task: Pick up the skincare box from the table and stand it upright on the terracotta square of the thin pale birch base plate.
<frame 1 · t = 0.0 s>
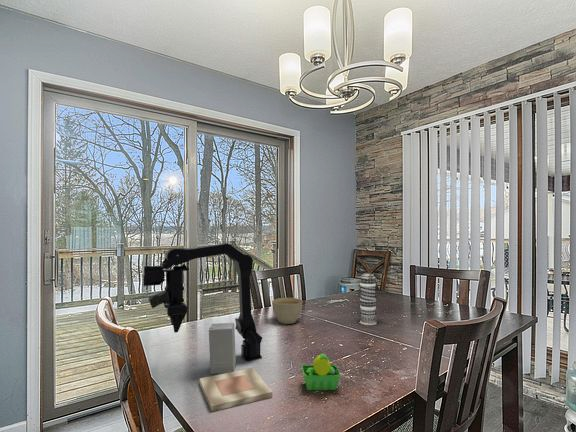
hand: (174, 328, 116), 15 cm above the table, tool pointing down, fingers open, 9 cm apart
birch base: (234, 389, 102), on the table
planter bowl: (287, 322, 174), on the table
decorative candle: (368, 323, 171), on the table
fruit basket: (320, 387, 104), on the table
skincare box: (222, 371, 116), on the table
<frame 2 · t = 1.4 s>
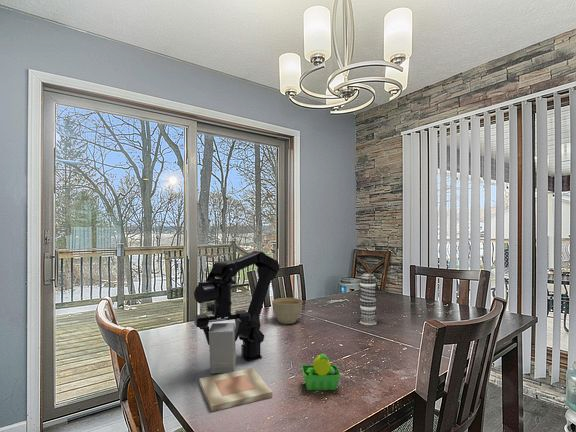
hand: (222, 342, 116), 10 cm above the table, tool pointing down, fingers open, 9 cm apart
skincare box: (222, 369, 116), on the table, touching gripper
everything else where it was.
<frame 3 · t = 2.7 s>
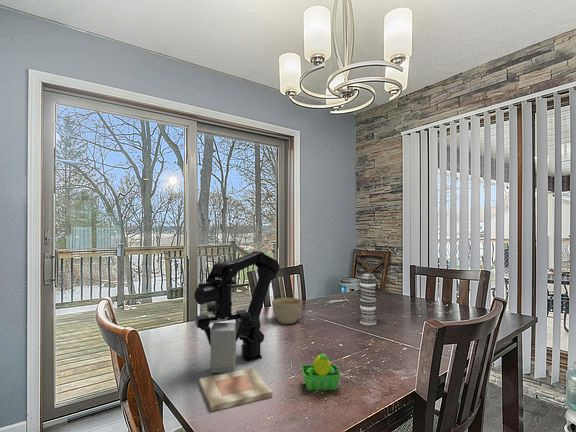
hand: (223, 342, 116), 9 cm above the table, tool pointing down, fingers closed on skincare box, 9 cm apart
skincare box: (222, 369, 116), on the table, touching gripper
everything else where it was.
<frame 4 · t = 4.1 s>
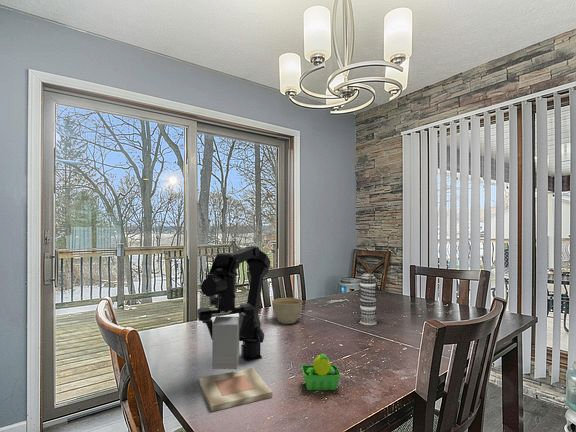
hand: (226, 337, 111), 13 cm above the table, tool pointing down, fingers closed on skincare box, 9 cm apart
skincare box: (225, 365, 110), point 4 cm above the table, touching gripper
everything else where it was.
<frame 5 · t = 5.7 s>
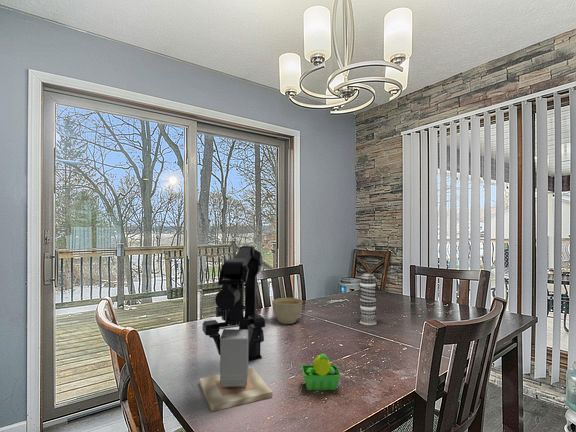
hand: (234, 352, 103), 12 cm above the table, tool pointing down, fingers closed on skincare box, 9 cm apart
skincare box: (233, 382, 102), point 2 cm above the table, touching gripper
everything else where it was.
when the fingers open (12 cm above the table, at t = 7.1 s): skincare box stays where it is, resting on birch base.
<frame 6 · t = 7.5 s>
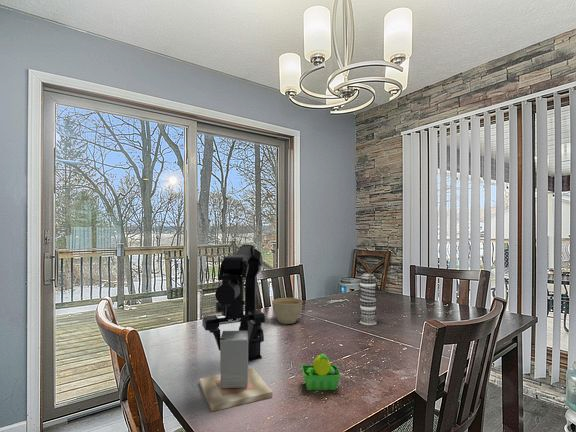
hand: (234, 347, 102), 13 cm above the table, tool pointing down, fingers open, 9 cm apart
skincare box: (233, 383, 102), point 2 cm above the table, touching birch base, gripper
everything else where it was.
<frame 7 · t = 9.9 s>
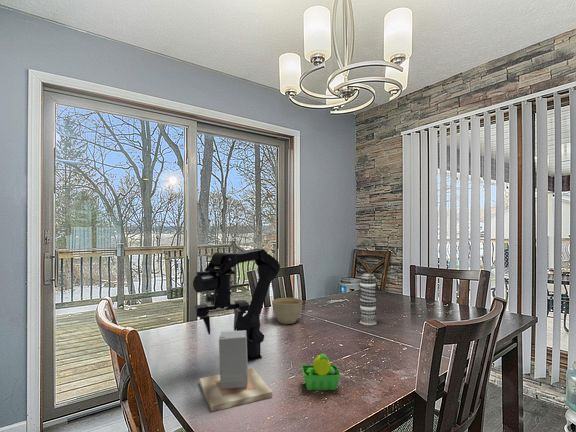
hand: (222, 332, 117), 13 cm above the table, tool pointing down, fingers open, 9 cm apart
skincare box: (233, 385, 102), point 1 cm above the table, touching birch base
everything else where it was.
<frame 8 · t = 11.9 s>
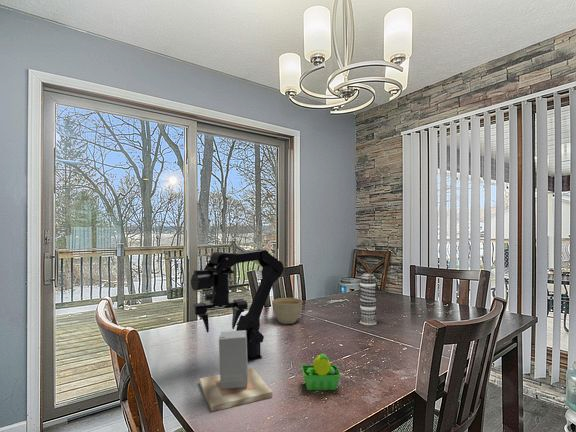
hand: (220, 330, 119), 13 cm above the table, tool pointing down, fingers open, 9 cm apart
nothing on the table moved.
at the end: skincare box inside the target area on the birch base (0.2 cm from its centre), point 1.4 cm above the birch base's base; skincare box tilted 0°; the gripper is holding nothing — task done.
